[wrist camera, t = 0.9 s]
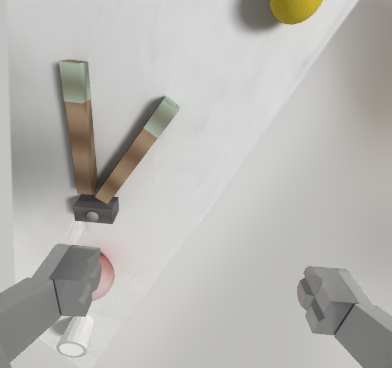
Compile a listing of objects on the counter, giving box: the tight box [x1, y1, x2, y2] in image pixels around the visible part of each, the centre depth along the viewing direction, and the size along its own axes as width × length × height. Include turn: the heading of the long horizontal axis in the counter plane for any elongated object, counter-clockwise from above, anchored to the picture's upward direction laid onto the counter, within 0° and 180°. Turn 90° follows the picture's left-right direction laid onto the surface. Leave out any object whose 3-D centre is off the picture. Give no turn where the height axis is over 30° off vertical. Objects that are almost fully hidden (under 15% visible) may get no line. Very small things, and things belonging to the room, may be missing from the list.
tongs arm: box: [95, 96, 179, 204], centre depth 39 cm, size 20×2×3 cm, turn 141°
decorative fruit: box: [92, 255, 114, 301], centre depth 49 cm, size 9×8×10 cm
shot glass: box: [56, 315, 94, 357], centre depth 61 cm, size 7×7×7 cm
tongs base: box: [59, 60, 119, 224], centre depth 39 cm, size 25×6×5 cm, turn 173°
